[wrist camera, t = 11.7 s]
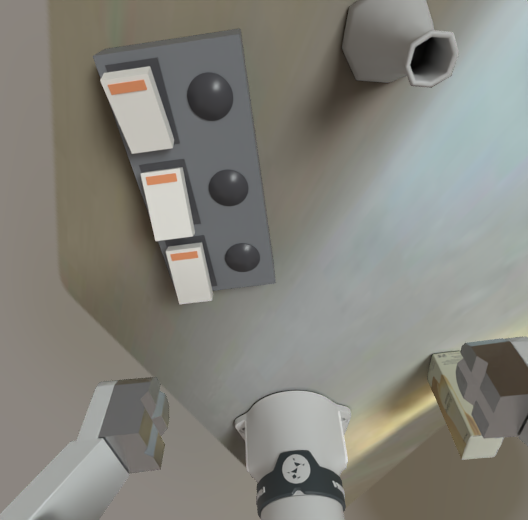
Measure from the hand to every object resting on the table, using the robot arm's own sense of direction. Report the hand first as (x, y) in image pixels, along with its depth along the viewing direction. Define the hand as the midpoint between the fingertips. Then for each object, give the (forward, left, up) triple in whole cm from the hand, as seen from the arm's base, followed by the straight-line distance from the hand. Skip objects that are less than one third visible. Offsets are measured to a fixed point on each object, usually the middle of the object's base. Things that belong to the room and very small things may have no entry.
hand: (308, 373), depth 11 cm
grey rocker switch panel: (-7, +7, -29) cm, 31 cm away
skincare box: (-41, -21, -29) cm, 55 cm away
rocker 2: (-15, +10, -24) cm, 30 cm away
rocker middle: (-7, +10, -24) cm, 27 cm away
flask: (+3, -10, -29) cm, 31 cm away
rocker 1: (+1, +10, -24) cm, 26 cm away
